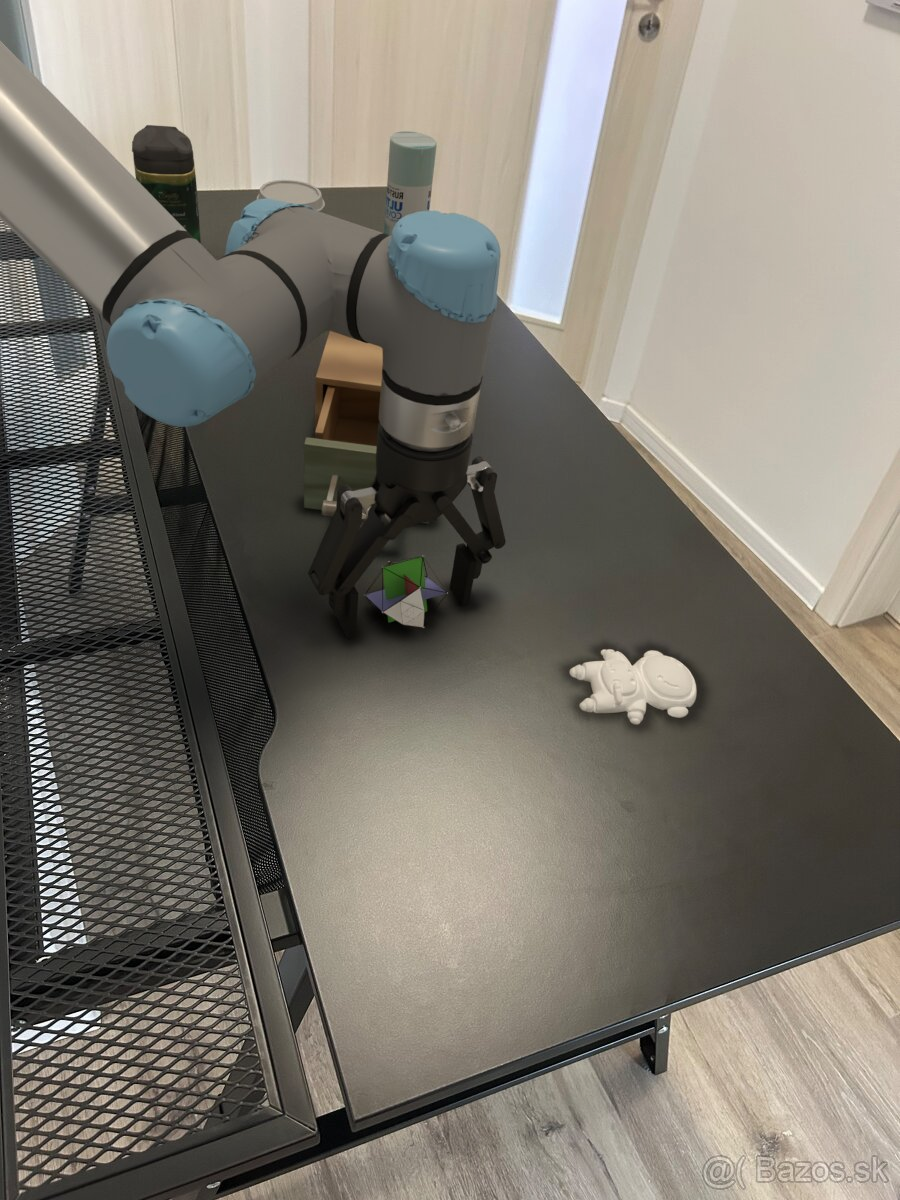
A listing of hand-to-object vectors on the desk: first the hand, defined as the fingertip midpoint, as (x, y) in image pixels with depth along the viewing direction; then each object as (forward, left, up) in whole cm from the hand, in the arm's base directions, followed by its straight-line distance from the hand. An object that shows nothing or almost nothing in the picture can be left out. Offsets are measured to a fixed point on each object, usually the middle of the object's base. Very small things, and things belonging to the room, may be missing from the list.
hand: (403, 616), depth 82 cm
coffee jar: (-75, -2, 0) cm, 75 cm away
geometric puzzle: (0, 0, 0) cm, 0 cm away
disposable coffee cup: (-70, +14, 0) cm, 72 cm away
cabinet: (-31, +12, 0) cm, 33 cm away
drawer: (-19, +5, +1) cm, 19 cm away
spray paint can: (-65, +30, 0) cm, 72 cm away
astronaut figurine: (+16, +16, 0) cm, 22 cm away
